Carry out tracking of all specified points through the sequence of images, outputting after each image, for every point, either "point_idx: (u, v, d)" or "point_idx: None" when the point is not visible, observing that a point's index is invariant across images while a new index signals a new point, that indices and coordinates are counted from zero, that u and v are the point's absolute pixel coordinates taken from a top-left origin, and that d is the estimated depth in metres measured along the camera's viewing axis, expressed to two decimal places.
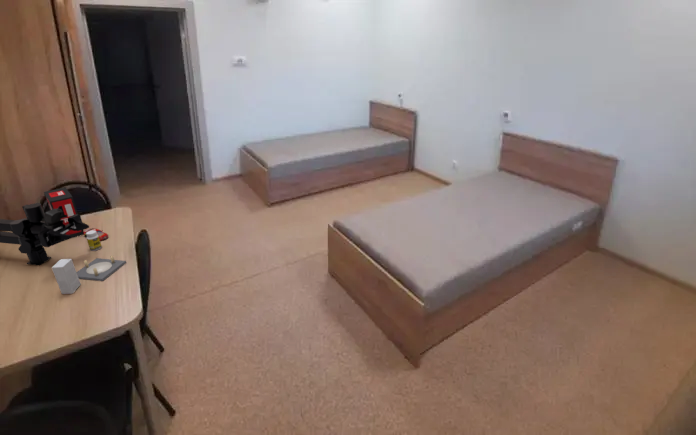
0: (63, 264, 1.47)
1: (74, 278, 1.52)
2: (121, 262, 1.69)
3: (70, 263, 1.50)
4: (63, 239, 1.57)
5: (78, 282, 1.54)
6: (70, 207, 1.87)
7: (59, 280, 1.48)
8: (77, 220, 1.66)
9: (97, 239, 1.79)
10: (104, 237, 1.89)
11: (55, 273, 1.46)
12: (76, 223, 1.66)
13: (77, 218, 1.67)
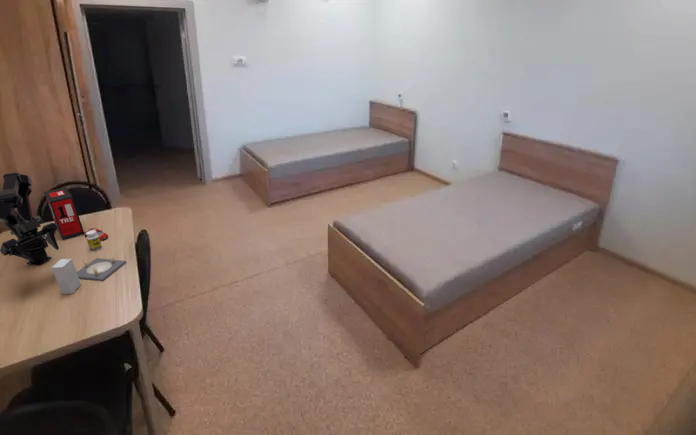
0: (63, 264, 1.47)
1: (74, 278, 1.52)
2: (121, 262, 1.69)
3: (70, 263, 1.50)
4: (24, 257, 1.45)
5: (78, 282, 1.54)
6: (70, 207, 1.87)
7: (59, 280, 1.48)
8: (51, 234, 1.53)
9: (97, 239, 1.79)
10: (104, 237, 1.89)
11: (55, 273, 1.46)
12: (49, 236, 1.53)
13: (53, 232, 1.54)
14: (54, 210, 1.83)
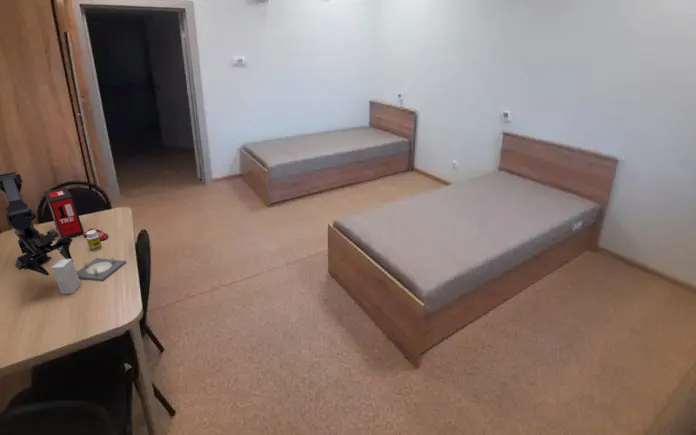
0: (63, 264, 1.47)
1: (74, 278, 1.52)
2: (121, 262, 1.69)
3: (70, 263, 1.50)
4: (39, 271, 1.45)
5: (78, 282, 1.54)
6: (70, 207, 1.87)
7: (60, 280, 1.48)
8: (66, 248, 1.53)
9: (97, 239, 1.79)
10: (104, 237, 1.89)
11: (55, 273, 1.46)
12: (63, 250, 1.53)
13: (67, 245, 1.53)
14: (54, 210, 1.83)
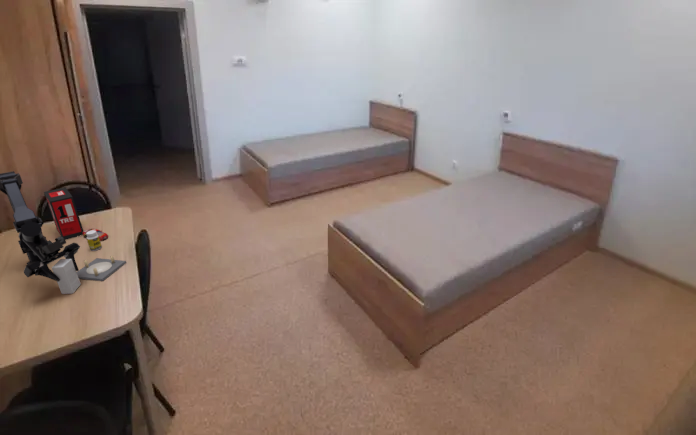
0: (63, 264, 1.47)
1: (74, 278, 1.52)
2: (121, 262, 1.69)
3: (70, 263, 1.50)
4: (50, 277, 1.46)
5: (78, 282, 1.54)
6: (70, 207, 1.87)
7: None
8: (71, 256, 1.52)
9: (97, 239, 1.79)
10: (104, 237, 1.89)
11: (55, 273, 1.46)
12: (68, 257, 1.52)
13: (73, 253, 1.53)
14: (54, 210, 1.83)
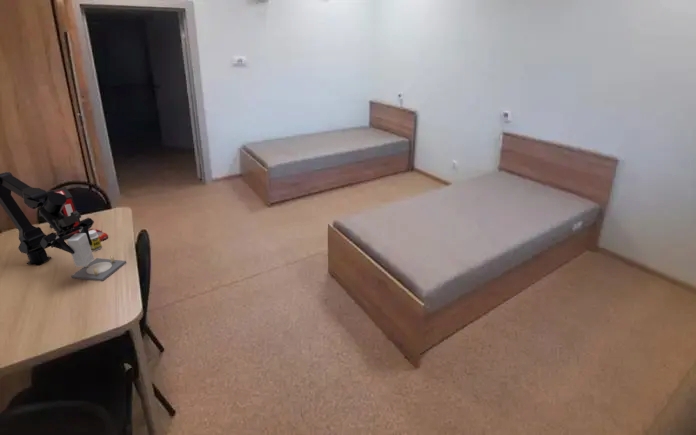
0: (78, 238, 1.52)
1: (88, 252, 1.57)
2: (121, 262, 1.69)
3: (84, 237, 1.55)
4: (65, 250, 1.51)
5: (92, 256, 1.59)
6: (70, 207, 1.87)
7: (74, 253, 1.53)
8: (86, 230, 1.57)
9: (97, 239, 1.79)
10: (104, 237, 1.89)
11: (70, 246, 1.51)
12: (83, 232, 1.57)
13: (87, 228, 1.58)
14: None
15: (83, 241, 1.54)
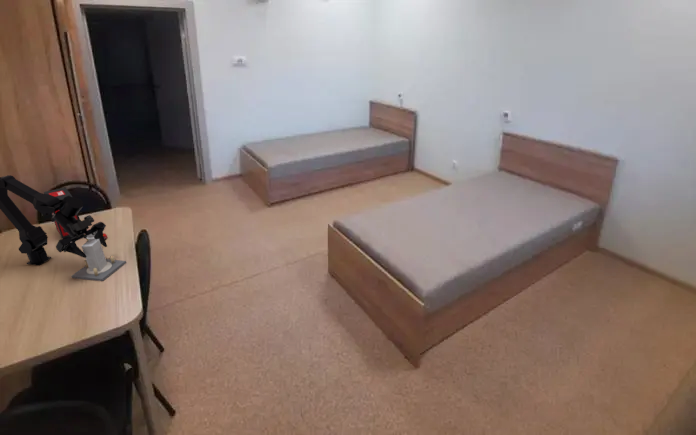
0: (92, 243, 1.59)
1: (101, 257, 1.63)
2: (121, 262, 1.69)
3: (98, 243, 1.61)
4: (77, 254, 1.56)
5: (105, 261, 1.66)
6: None
7: (88, 258, 1.59)
8: (100, 233, 1.64)
9: None
10: None
11: (84, 251, 1.58)
12: (98, 234, 1.64)
13: (101, 230, 1.65)
14: None
15: (97, 247, 1.61)
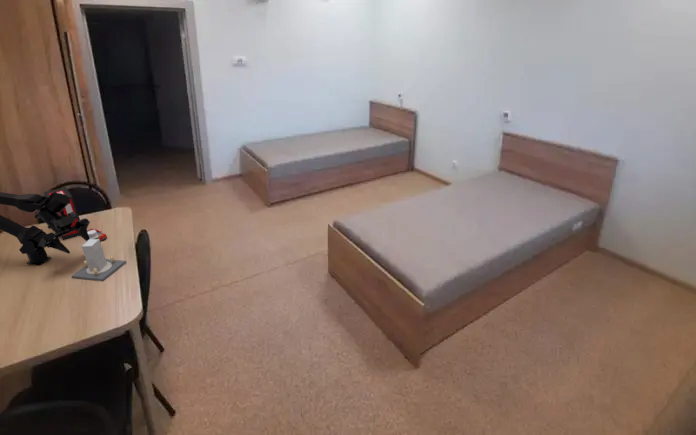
0: (92, 243, 1.59)
1: (101, 257, 1.63)
2: (121, 262, 1.69)
3: (98, 243, 1.61)
4: (61, 249, 1.60)
5: (105, 261, 1.66)
6: (70, 207, 1.87)
7: (88, 258, 1.59)
8: (84, 229, 1.67)
9: None
10: (102, 238, 1.88)
11: (84, 251, 1.58)
12: (82, 231, 1.67)
13: (85, 227, 1.68)
14: None
15: (97, 247, 1.61)
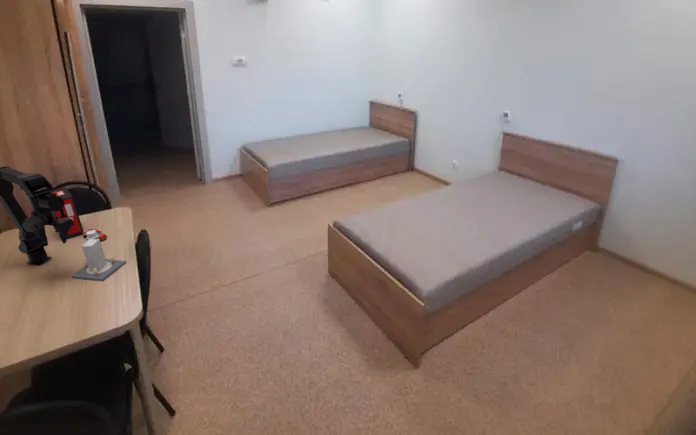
0: (92, 243, 1.59)
1: (101, 257, 1.63)
2: (121, 262, 1.69)
3: (98, 243, 1.61)
4: None
5: (105, 261, 1.66)
6: (70, 207, 1.87)
7: (88, 258, 1.59)
8: (58, 232, 1.55)
9: None
10: (102, 238, 1.88)
11: (84, 251, 1.58)
12: None
13: (59, 232, 1.54)
14: None
15: (97, 247, 1.61)
